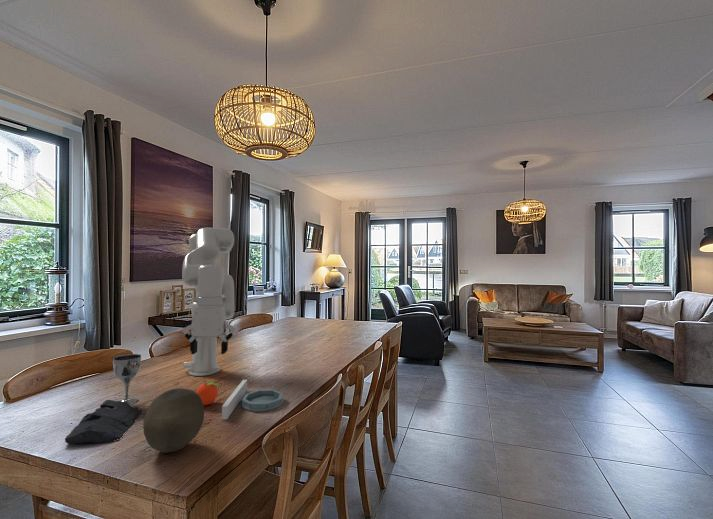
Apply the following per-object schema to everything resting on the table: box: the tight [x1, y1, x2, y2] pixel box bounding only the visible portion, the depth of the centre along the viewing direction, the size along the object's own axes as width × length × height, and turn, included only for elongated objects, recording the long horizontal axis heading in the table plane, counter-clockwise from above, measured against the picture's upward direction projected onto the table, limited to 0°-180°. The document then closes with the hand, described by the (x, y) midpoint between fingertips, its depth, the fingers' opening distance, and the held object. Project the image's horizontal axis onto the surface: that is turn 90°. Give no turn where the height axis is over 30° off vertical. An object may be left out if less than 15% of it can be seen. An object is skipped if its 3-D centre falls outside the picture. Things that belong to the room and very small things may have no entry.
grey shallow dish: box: [241, 389, 284, 413], centre depth 118 cm, size 14×14×2 cm
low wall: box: [221, 379, 248, 421], centre depth 117 cm, size 2×24×4 cm, turn 3°
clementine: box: [195, 382, 222, 406], centre depth 116 cm, size 8×7×7 cm
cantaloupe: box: [142, 388, 205, 454], centre depth 88 cm, size 14×14×15 cm
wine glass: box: [112, 353, 142, 405], centre depth 118 cm, size 8×8×15 cm
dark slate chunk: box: [64, 399, 143, 445], centre depth 100 cm, size 15×22×5 cm
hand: (209, 353), depth 116 cm, fingers open, 9 cm apart
